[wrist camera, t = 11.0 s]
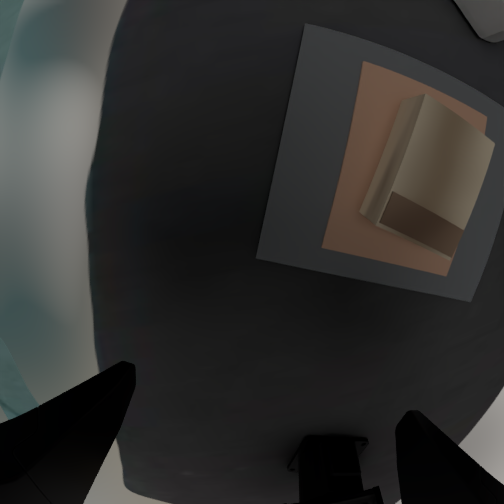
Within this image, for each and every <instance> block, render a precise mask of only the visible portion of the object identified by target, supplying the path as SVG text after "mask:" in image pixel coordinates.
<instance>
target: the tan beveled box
mask: <svg viewBox="0 0 504 504" xmlns="http://www.w3.org/2000/svg"><path fill="white" fill-rule="evenodd" d="M494 146H495V143H494V142H492V141H491V140H490V139H489V138H488V137H486V136H485V135H484V134H483V133H481V132H480V131H479V130H478V129H476V128H475V127H474V126H472V125H471V124H470V123H468V122H467V121H466V120H464V119H463V118H462V117H460V116H459V115H457V114H456V113H455V112H453V111H452V110H450V109H449V108H447V107H446V106H444V105H443V104H441V103H440V102H438V101H437V100H435V99H434V98H432V97H431V96H429V95H427V94H426V93H425V94H422V95H418V96H415V97H412V98H408V99H405V100H402V101H401V104H400V107H399V110H398V113H397V116H396V119H395V122H394V124H393V127H392V130H391V133H390V135H389V138H388V141H387V144H386V146H385V149H384V152H383V154H382V157H381V159H380V162H379V164H378V167H377V170H376V172H375V175H374V177H373V180H372V182H371V184H370V187H369V189H368V192H367V194H366V196H365V199H364V201H363V204H362V206H361V208H360V211H359V212H360V213H361V214H362V215H363V216H365V217H366V218H367V219H368V220H370V221H371V222H372V223H373V224H375V225H376V226H378V227H380V228H383V229H385V230H387V231H389V232H391V233H393V234H396V235H398V236H400V237H402V238H404V239H406V240H408V241H410V242H413V243H415V244H417V245H419V246H421V247H423V248H425V249H427V250H429V251H431V252H433V253H435V254H437V255H439V256H441V257H443V258H445V259H447V260H449V261H450V259H451V258H452V256H453V254H454V252H455V250H456V248H457V245H458V243H459V241H460V239H461V237H462V234H463V232H464V229H465V227H466V225H467V222H468V220H469V217H470V215H471V213H472V210H473V208H474V205H475V202H476V200H477V197H478V195H479V192H480V189H481V186H482V184H483V181H484V178H485V175H486V172H487V169H488V166H489V163H490V159H491V156H492V153H493V149H494Z"/></svg>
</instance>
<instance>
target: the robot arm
mask: <svg viewBox="0 0 504 504" xmlns="http://www.w3.org/2000/svg"><path fill="white" fill-rule="evenodd" d="M135 386H136V369H135V365H134V364H132V363H129V362H126V361H121V362H119V363H117V364H115V365H113V366H112V367H110V368H108V369H106V370H104V371H103V372H101V373H99V374H97V375H95V376H94V377H92V378H90V379H88V380H86V381H84V382H83V383H81V384H79V385H77V386H75V387H74V388H72V389H70V390H68V391H66V392H64V393H62V394H60V395H59V396H57V397H55V398H53V399H51V400H49V401H47V402H45V403H43V404H42V405H40V406H39V407H36V408H34V409H32V410H30V411H28V412H26V413H24V414H22V415H20V416H17V417H15V418H13V419H10V420H8V421H5V422H3V423H0V504H83V503H84V500H85V498H86V496H87V494H88V492H89V490H90V488H91V486H92V484H93V482H94V480H95V478H96V476H97V474H98V472H99V470H100V467H101V466H102V464H103V462H104V459H105V457H106V456H107V454H108V452H109V450H110V448H111V446H112V444H113V442H114V440H115V438H116V436H117V434H118V432H119V430H120V428H121V425H122V422H123V420H124V417H125V414H126V411H127V409H128V406H129V403H130V400H131V398H132V395H133V392H134V390H135ZM395 435H396V453H397V470H398V477H399V485H400V493H401V502H402V504H504V485H503V484H502V483H500V482H499V481H498V480H497V479H495V478H494V477H493V476H492V475H490V474H489V473H488V472H487V471H486V470H485V469H484V468H482V467H481V466H480V465H479V464H478V463H477V462H476V461H475V460H473V459H472V458H471V457H470V456H469V455H468V454H467V453H465V452H464V451H463V450H462V449H461V448H460V447H459V446H458V445H457V444H456V443H454V442H453V441H452V440H451V439H450V438H449V437H448V436H447V435H445V434H444V433H443V432H442V431H441V430H440V429H439V428H438V427H437V426H435V425H434V424H433V423H432V422H431V421H430V420H429V419H428V418H427V417H425V416H424V415H423V414H422V413H421V412H420V411H418V410H410V411H408V412H406V414H405V415H404V416H403V418H402V419H401V420H400V422H399V423H398V424H397V426H396V430H395ZM368 444H369V442H368V439H366V438H334V437H317V436H307V437H305V438H304V440H303V441H302V443H301V445H300V447H299V448H298V450H297V452H296V453H295V455H294V457H293V458H292V460H291V462H290V463H289V465H288V467H287V470H288V471H290V472H299V503H293V504H384V503H383V499H382V496H381V492H380V488H379V486H376V487H373V488H372V489H368V490H365V491H364V490H363V484H362V479H361V470H360V465H359V460H358V456H359V455H360V454H361V453H362V451H363V450H364V449H365V448H366V446H367V445H368ZM285 504H287V503H285Z"/></svg>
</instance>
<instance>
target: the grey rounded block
mask: <svg viewBox="0 0 504 504" xmlns="http://www.w3.org/2000/svg"><path fill="white" fill-rule="evenodd" d="M454 1H455V3H456V4H457V5H458V7H459V8H460V10H461V11H462V13H463V14H464V16H465V17H466V19H467V20H468V21H469V23H470V24H471V26H472V27H473V29H474V30H475V32H476V33H477V34H478V36H479V37H480V38H482V39H484V40H486V41H489V42H499V41H502V40H504V0H454Z"/></svg>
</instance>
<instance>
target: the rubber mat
mask: <svg viewBox="0 0 504 504" xmlns="http://www.w3.org/2000/svg"><path fill="white" fill-rule="evenodd" d="M425 93H426V94H427V95H429V96H431V97H432V98H434V99H435V100H437V101H438V102H440V103H441V104H443V105H444V106H446V107H447V108H449V109H450V110H452V111H453V112H455V113H456V114H457V115H459V116H460V117H462V118H463V119H464V120H466V121H467V122H468V123H470V124H471V125H472V126H474V127H475V128H476V129H478V130H479V131H480V132H481V133H483V134H484V135H485V136H486V137H488V138H489V139H490V140H491V141H492V142H494V143H495V146H494V149H493V153H492V156H491V159H490V163H489V166H488V169H487V172H486V175H485V178H484V181H483V184H482V186H481V189H480V192H479V195H478V197H477V200H476V202H475V205H474V208H473V210H472V213H471V215H470V217H469V220H468V222H467V225H466V227H465V229H464V232H463V234H462V237H461V239H460V241H459V243H458V245H457V248H456V250H455V252H454V254H453V256H452V258H451V259H450V261H449V260H447V259H445V258H443V257H441V256H439V255H437V254H435V253H433V252H431V251H429V250H427V249H425V248H423V247H421V246H419V245H417V244H415V243H413V242H410V241H408V240H406V239H404V238H402V237H400V236H398V235H396V234H393V233H391V232H389V231H387V230H385V229H383V228H380V227H378V226H376V225H375V224H373V223H372V222H371V221H370V220H368V219H367V218H366V217H365V216H363V215H362V214H361V213H360V212H359V211H360V208H361V206H362V204H363V201H364V199H365V196H366V194H367V192H368V189H369V187H370V184H371V182H372V180H373V177H374V175H375V172H376V170H377V167H378V164H379V162H380V159H381V157H382V154H383V152H384V149H385V146H386V144H387V141H388V138H389V135H390V133H391V130H392V127H393V124H394V122H395V119H396V116H397V113H398V110H399V107H400V104H401V101H402V100H405V99H408V98H412V97H415V96H418V95H422V94H425ZM503 209H504V107H503V106H501V105H500V104H498V103H497V102H495V101H493V100H492V99H490V98H489V97H487V96H485V95H484V94H482V93H481V92H479V91H477V90H475V89H474V88H472V87H470V86H469V85H467V84H465V83H463V82H461V81H460V80H458V79H456V78H454V77H452V76H450V75H448V74H446V73H444V72H442V71H440V70H438V69H436V68H434V67H432V66H430V65H428V64H426V63H423V62H421V61H419V60H417V59H414V58H412V57H410V56H407V55H405V54H403V53H400V52H398V51H395V50H392V49H390V48H387V47H385V46H382V45H379V44H376V43H373V42H370V41H368V40H365V39H361V38H358V37H355V36H352V35H349V34H345V33H342V32H338V31H335V30H331V29H327V28H323V27H319V26H315V25H311V24H306V23H305V27H304V31H303V36H302V41H301V46H300V51H299V56H298V60H297V65H296V70H295V75H294V80H293V84H292V89H291V94H290V99H289V104H288V108H287V113H286V118H285V123H284V128H283V132H282V137H281V142H280V147H279V151H278V156H277V161H276V165H275V170H274V175H273V180H272V184H271V189H270V194H269V198H268V203H267V208H266V212H265V217H264V222H263V227H262V231H261V236H260V240H259V245H258V250H257V254H256V259H261V260H266V261H270V262H275V263H280V264H285V265H290V266H295V267H300V268H304V269H309V270H314V271H319V272H324V273H329V274H334V275H339V276H343V277H348V278H353V279H358V280H363V281H368V282H373V283H378V284H383V285H388V286H393V287H398V288H403V289H408V290H413V291H418V292H423V293H428V294H433V295H438V296H443V297H448V298H453V299H458V300H463V301H468V302H471V300H472V298H473V295H474V293H475V291H476V288H477V286H478V283H479V281H480V279H481V276H482V273H483V271H484V268H485V266H486V263H487V260H488V257H489V254H490V252H491V249H492V246H493V243H494V240H495V236H496V233H497V230H498V227H499V223H500V220H501V216H502V213H503Z"/></svg>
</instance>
